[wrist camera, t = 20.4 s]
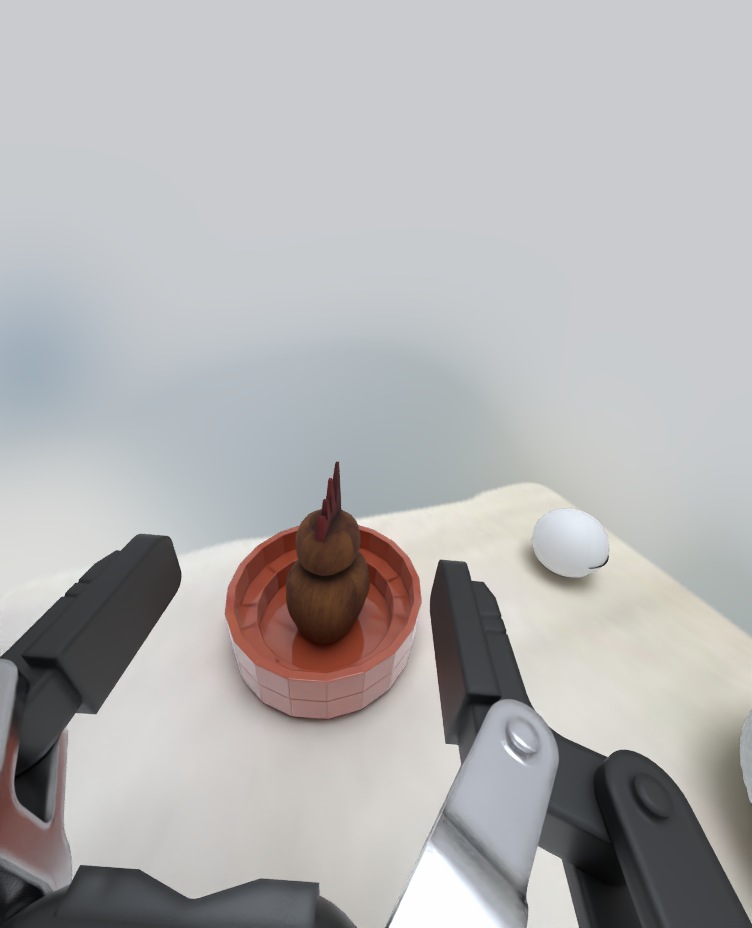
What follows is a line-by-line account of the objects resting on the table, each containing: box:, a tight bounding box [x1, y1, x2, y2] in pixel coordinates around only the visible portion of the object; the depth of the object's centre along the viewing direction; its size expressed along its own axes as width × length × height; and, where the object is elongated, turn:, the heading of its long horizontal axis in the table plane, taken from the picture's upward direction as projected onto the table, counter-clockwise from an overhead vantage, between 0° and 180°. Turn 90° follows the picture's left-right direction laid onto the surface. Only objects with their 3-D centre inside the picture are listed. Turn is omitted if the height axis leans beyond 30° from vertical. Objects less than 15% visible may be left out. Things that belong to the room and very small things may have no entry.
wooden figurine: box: [286, 462, 370, 644], centre depth 26 cm, size 7×6×15 cm
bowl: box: [225, 525, 422, 719], centre depth 28 cm, size 15×15×6 cm
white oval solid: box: [531, 508, 609, 577], centre depth 37 cm, size 10×7×7 cm
